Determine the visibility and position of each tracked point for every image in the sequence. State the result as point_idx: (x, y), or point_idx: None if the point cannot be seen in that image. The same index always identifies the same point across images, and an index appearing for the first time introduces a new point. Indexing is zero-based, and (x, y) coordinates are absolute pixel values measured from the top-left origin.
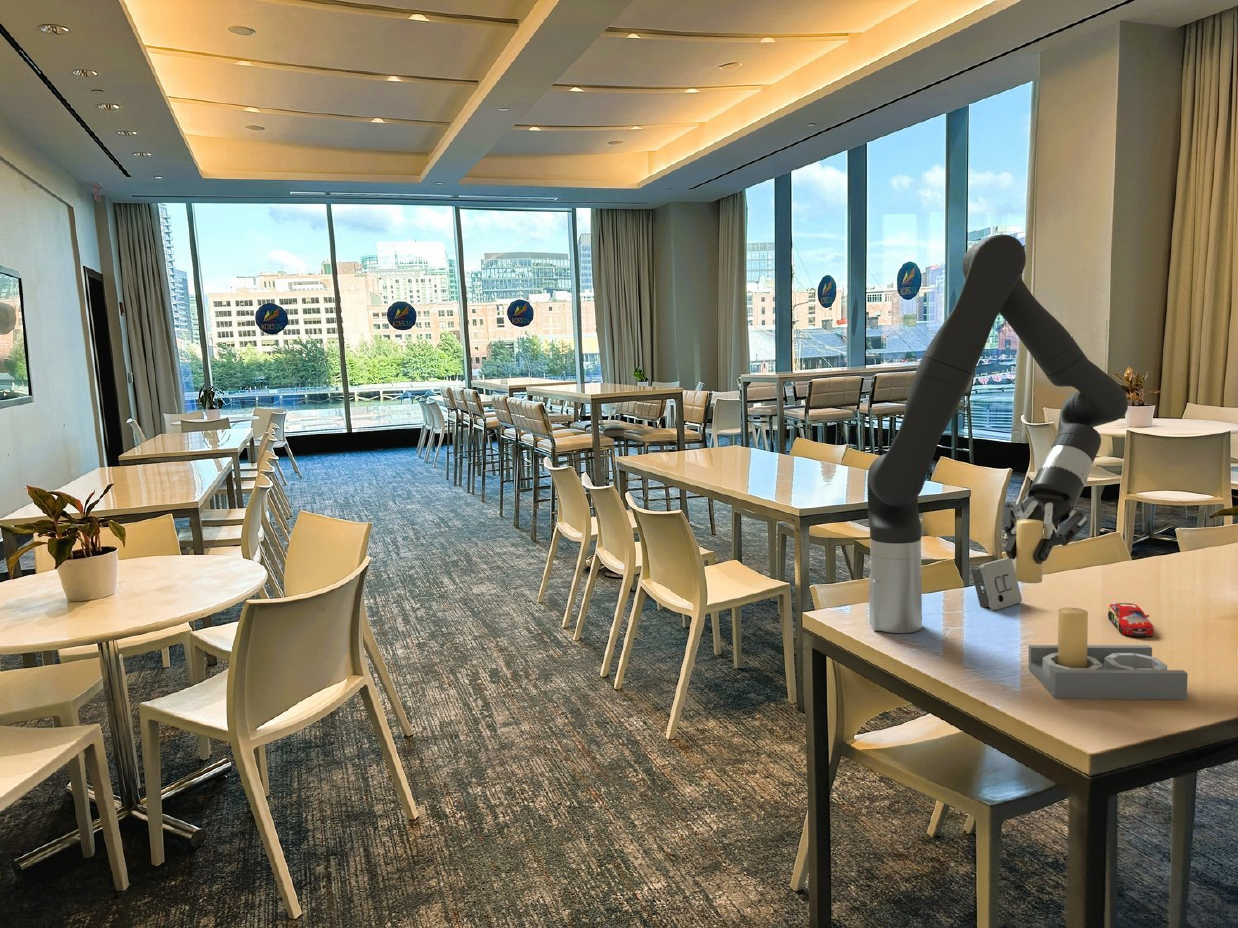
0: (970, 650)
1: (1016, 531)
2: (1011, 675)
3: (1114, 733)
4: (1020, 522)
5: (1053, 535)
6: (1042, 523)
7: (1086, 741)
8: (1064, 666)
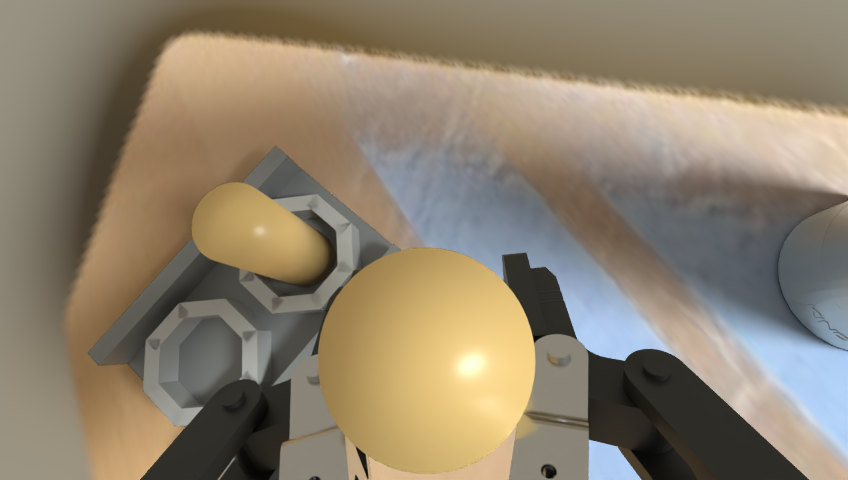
0: (579, 269)
1: (545, 356)
2: (417, 204)
3: (169, 116)
4: (455, 263)
5: (288, 407)
6: (320, 374)
7: (187, 60)
8: (291, 210)
